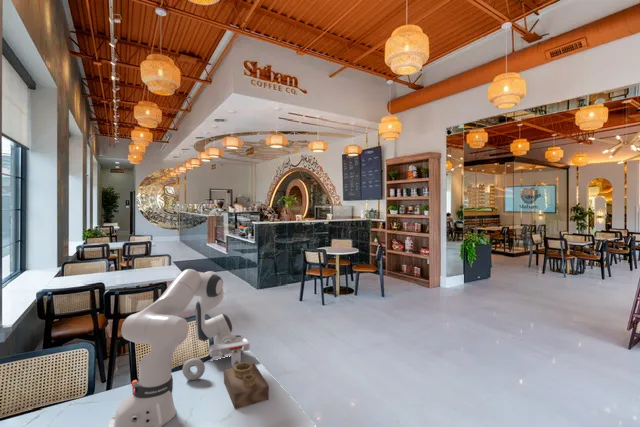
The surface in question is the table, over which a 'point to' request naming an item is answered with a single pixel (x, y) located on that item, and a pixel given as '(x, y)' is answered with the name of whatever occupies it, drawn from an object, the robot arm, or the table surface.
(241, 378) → the manifold block
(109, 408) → the table surface
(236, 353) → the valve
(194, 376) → the donut
